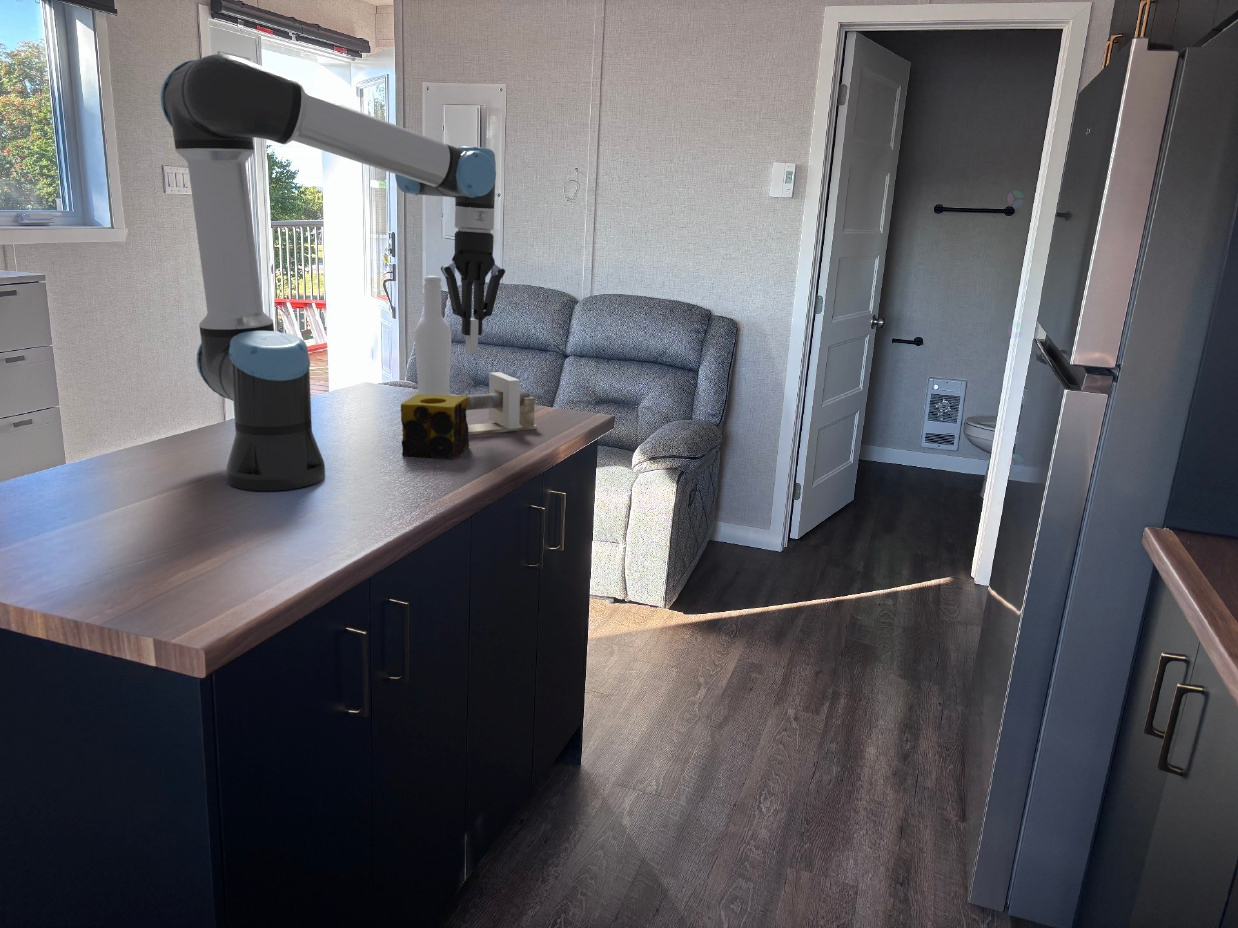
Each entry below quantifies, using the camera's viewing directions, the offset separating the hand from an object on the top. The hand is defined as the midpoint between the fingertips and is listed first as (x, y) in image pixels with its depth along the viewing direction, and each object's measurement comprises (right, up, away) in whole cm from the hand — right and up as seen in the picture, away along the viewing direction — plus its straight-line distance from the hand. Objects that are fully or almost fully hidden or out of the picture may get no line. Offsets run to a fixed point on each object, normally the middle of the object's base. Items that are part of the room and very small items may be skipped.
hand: (471, 351), depth 185 cm
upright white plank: (+5, -15, +8) cm, 18 cm away
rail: (+3, -15, +6) cm, 17 cm away
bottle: (-11, -12, +18) cm, 25 cm away
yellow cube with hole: (-5, -21, -13) cm, 25 cm away
